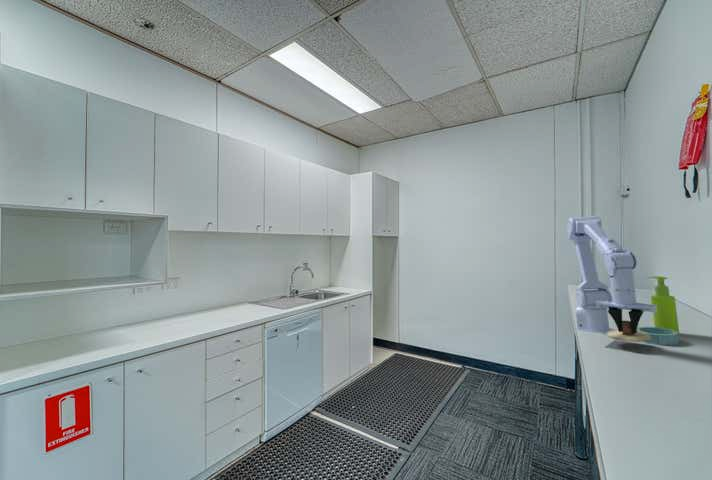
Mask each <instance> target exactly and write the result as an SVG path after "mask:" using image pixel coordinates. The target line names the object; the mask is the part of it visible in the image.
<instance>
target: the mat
mask: <svg viewBox="0 0 712 480" xmlns="http://www.w3.org/2000/svg"><path fill="white" fill-rule="evenodd" d="M655 347H656V346H655V345H653V344H646V343H639V342H631V341H622V340H617V339H614V340H613V341H611V342H610V343H608V344H607V345H605V346H604V348H607V349H612V350H618V351H624V352H628V353H635V354H640V355H648V354H649V353H650V352H651V351H652V350H653V349H654V348H655Z"/></svg>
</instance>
